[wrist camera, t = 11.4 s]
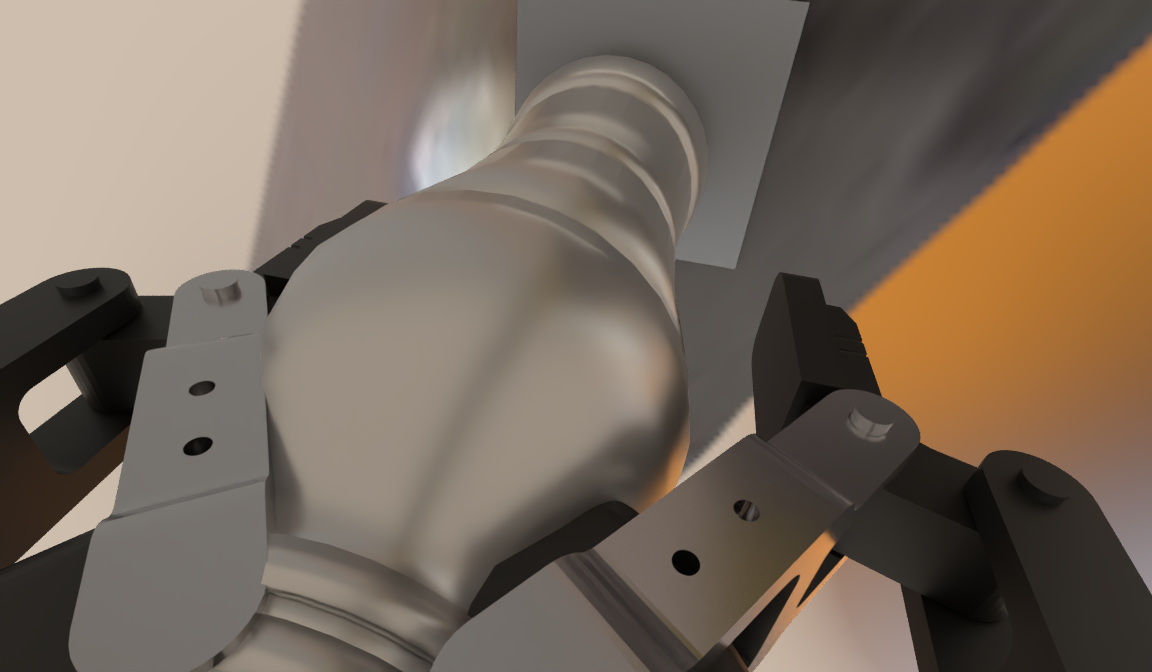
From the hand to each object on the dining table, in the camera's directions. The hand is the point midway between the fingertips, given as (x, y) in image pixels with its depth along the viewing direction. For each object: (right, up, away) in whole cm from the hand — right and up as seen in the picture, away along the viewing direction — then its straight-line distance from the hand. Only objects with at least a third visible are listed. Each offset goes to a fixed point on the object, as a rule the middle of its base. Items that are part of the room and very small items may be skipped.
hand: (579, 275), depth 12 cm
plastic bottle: (+1, +6, +8) cm, 10 cm away
